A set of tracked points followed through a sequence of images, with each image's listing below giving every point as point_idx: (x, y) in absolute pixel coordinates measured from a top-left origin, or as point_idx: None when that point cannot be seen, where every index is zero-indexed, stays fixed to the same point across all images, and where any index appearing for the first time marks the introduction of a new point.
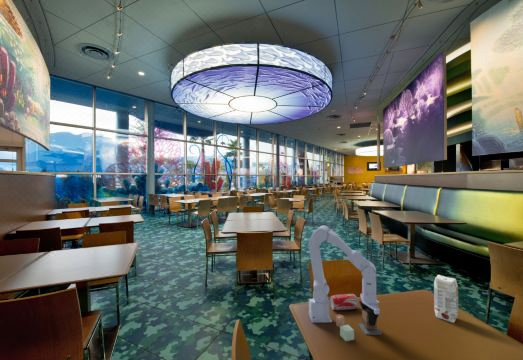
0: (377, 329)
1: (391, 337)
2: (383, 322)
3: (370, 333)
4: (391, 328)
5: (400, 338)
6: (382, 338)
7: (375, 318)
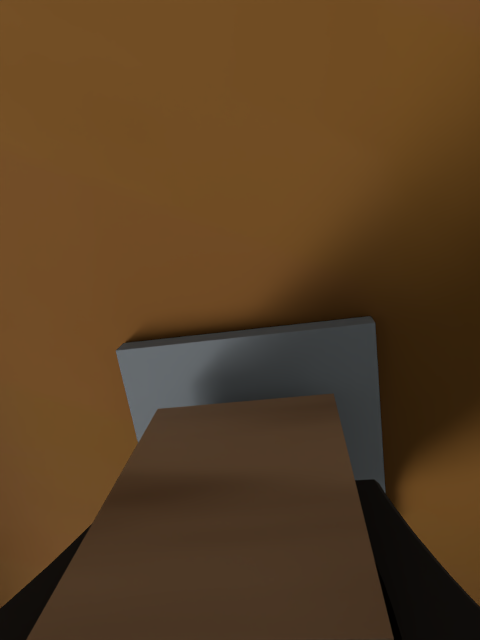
0: (276, 350)
1: (443, 183)
2: (11, 155)
3: (382, 479)
4: (173, 73)
5: (475, 17)
6: (467, 338)
7: (452, 626)
